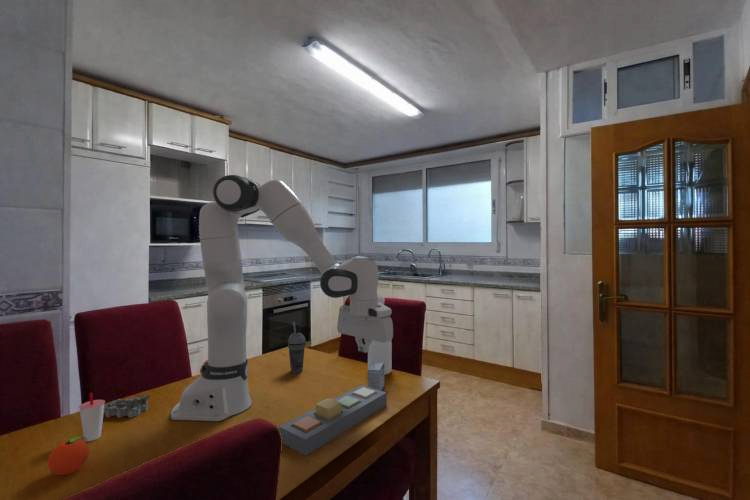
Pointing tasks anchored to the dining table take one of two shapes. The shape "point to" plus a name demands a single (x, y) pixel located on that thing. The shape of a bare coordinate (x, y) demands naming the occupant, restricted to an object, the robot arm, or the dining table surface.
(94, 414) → the cup
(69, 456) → the clementine
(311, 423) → the button terracotta
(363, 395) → the button cream
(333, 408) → the button mustard
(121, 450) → the dining table surface
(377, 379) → the medicine box
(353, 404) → the button sage
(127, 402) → the egg carton
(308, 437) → the tray
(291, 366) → the beverage cup
